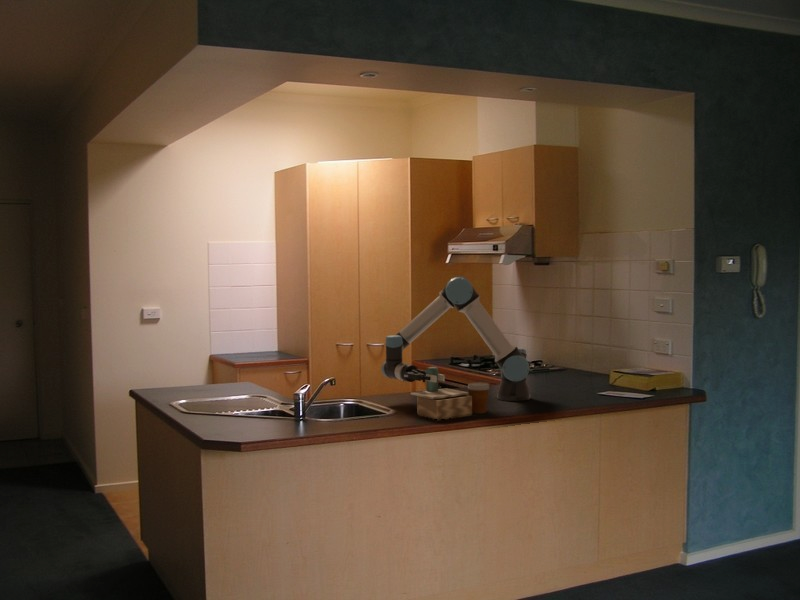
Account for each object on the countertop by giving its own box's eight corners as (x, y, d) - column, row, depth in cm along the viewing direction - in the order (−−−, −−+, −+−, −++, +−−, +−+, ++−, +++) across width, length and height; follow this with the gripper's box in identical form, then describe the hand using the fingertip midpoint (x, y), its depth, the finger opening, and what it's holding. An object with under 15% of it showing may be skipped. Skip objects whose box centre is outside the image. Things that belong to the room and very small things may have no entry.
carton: (451, 410, 364) (450, 391, 363) (472, 415, 352) (471, 396, 352) (417, 415, 353) (417, 396, 353) (437, 420, 342) (437, 400, 341)
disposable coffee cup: (472, 414, 354) (472, 386, 353) (464, 410, 363) (463, 382, 362) (493, 413, 356) (493, 384, 356) (484, 409, 365) (484, 381, 365)
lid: (446, 389, 367) (445, 365, 366) (468, 394, 354) (468, 368, 354) (410, 394, 356) (410, 369, 355) (432, 399, 343) (432, 372, 343)
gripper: (422, 379, 378) (455, 385, 359) (391, 383, 369) (424, 389, 350) (421, 362, 378) (455, 368, 359) (391, 365, 368) (424, 371, 349)
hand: (440, 378), depth 354 cm, fingers closed on lid, 3 cm apart
